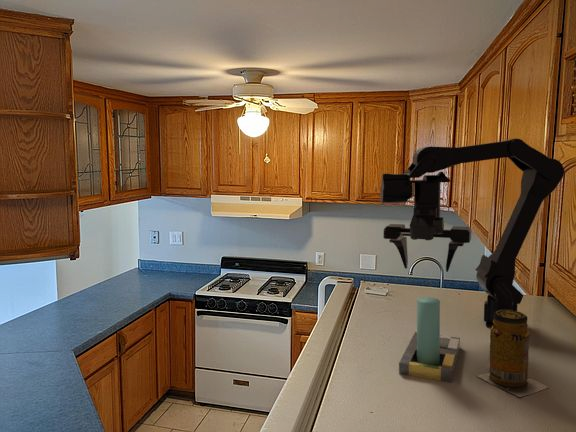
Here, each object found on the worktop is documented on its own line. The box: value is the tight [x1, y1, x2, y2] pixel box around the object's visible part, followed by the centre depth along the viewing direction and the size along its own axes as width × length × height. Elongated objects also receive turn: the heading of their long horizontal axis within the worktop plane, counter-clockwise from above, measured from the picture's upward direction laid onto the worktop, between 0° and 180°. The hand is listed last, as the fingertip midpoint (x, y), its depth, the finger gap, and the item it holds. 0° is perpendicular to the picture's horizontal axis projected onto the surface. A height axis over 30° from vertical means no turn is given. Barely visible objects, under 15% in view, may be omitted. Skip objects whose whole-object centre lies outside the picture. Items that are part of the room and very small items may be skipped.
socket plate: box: [398, 331, 461, 383], centre depth 89 cm, size 9×16×2 cm, turn 154°
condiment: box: [477, 310, 549, 398], centre depth 78 cm, size 7×8×12 cm
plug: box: [416, 296, 441, 366], centre depth 84 cm, size 4×4×13 cm
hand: (426, 269), depth 106 cm, fingers open, 9 cm apart
